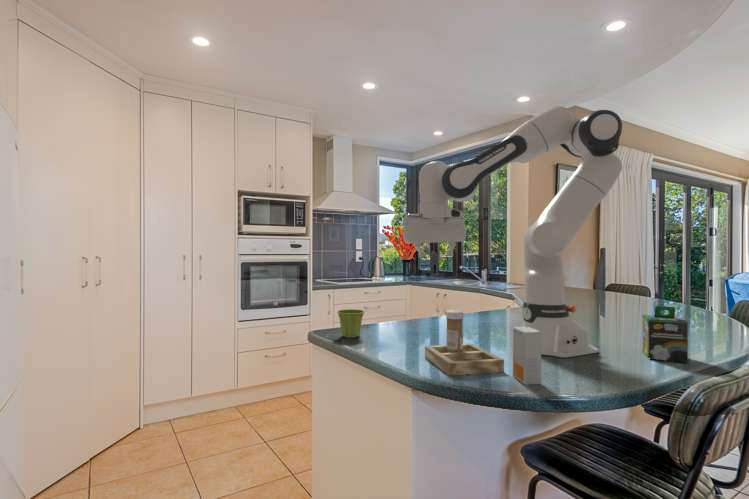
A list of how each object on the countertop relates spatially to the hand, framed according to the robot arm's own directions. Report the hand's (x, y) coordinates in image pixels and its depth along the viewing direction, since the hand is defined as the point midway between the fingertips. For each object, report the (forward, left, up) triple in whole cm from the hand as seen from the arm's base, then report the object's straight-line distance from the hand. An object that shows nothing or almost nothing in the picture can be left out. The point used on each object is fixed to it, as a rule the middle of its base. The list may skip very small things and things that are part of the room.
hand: (435, 256), depth 124 cm
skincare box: (-8, +36, -28) cm, 46 cm away
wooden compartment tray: (+1, +21, -28) cm, 35 cm away
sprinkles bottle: (+2, +17, -28) cm, 33 cm away
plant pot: (+24, -17, -28) cm, 41 cm away
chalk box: (-58, +28, -28) cm, 70 cm away
